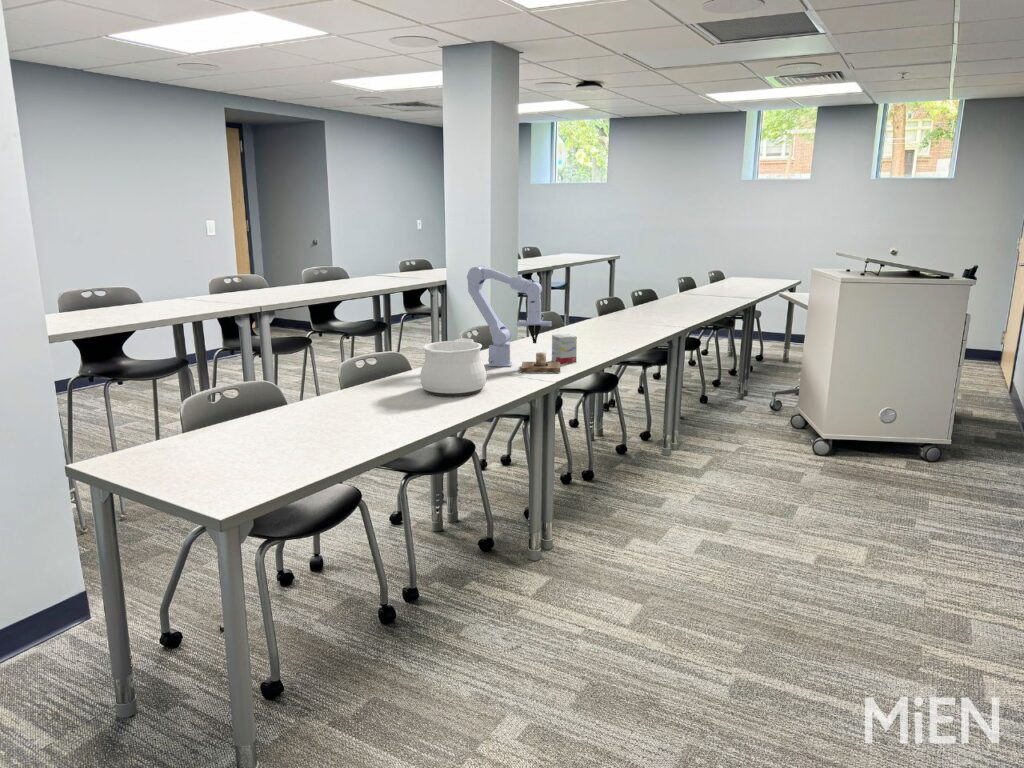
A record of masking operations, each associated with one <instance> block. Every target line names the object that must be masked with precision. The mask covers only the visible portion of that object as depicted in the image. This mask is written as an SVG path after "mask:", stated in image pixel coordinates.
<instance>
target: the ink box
mask: <svg viewBox="0 0 1024 768" xmlns="http://www.w3.org/2000/svg"><path fill="white" fill-rule="evenodd" d="M577 341H578V340H577V336H575V335H572V334H569V333H566V334H565V333H564V334H563V333H562V334H552V335H551V361H552V360H553V361H552V362H554V361H555V362H560V365H563V364H562V363H565V364H573V363H572V362H575V363H577V347H578V346H577Z"/></svg>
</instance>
